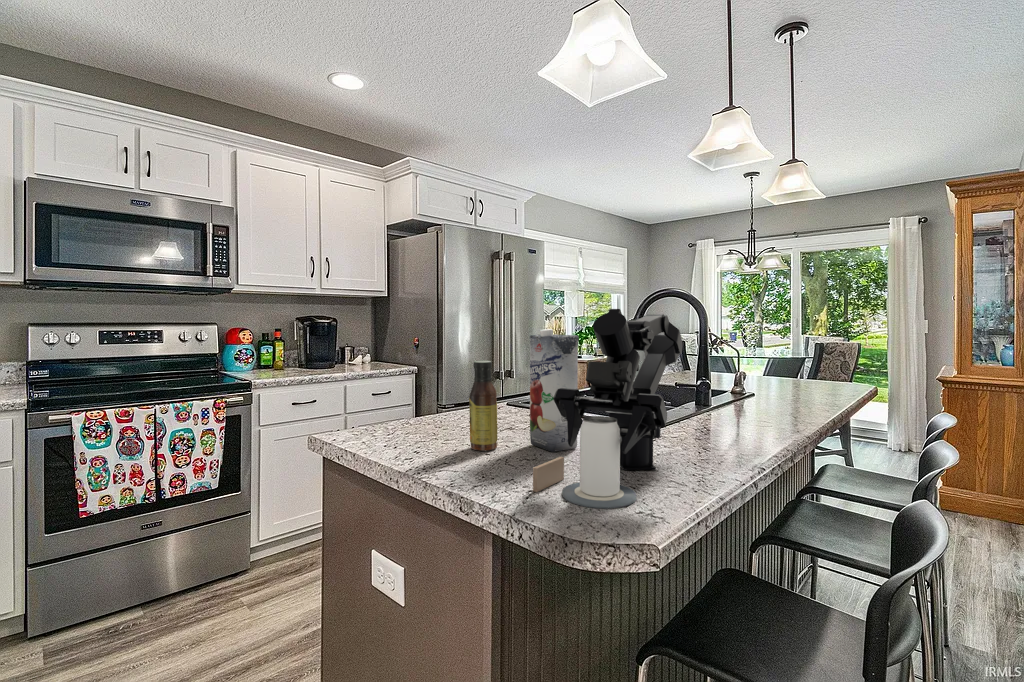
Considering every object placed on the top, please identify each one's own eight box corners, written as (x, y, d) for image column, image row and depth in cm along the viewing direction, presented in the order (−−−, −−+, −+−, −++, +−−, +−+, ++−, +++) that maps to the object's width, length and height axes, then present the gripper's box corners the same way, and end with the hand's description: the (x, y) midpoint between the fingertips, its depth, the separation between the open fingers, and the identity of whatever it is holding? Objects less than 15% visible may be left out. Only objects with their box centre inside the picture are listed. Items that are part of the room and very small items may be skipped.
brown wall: (560, 478, 95) (560, 456, 95) (563, 479, 95) (563, 457, 95) (533, 491, 88) (532, 467, 88) (536, 492, 88) (536, 468, 87)
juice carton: (556, 440, 126) (556, 328, 125) (583, 449, 117) (583, 329, 116) (524, 444, 122) (524, 328, 121) (550, 454, 113) (550, 329, 112)
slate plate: (625, 483, 92) (625, 480, 92) (646, 507, 80) (646, 503, 80) (557, 484, 91) (557, 481, 91) (568, 509, 79) (568, 505, 79)
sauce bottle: (477, 444, 122) (477, 359, 121) (502, 446, 120) (501, 360, 119) (464, 450, 116) (464, 361, 115) (489, 453, 114) (489, 362, 113)
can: (600, 501, 81) (601, 424, 81) (571, 490, 86) (571, 418, 86) (628, 492, 85) (628, 419, 85) (598, 483, 90) (598, 414, 90)
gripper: (557, 342, 93) (528, 414, 84) (663, 345, 84) (643, 425, 75) (575, 382, 100) (549, 452, 91) (674, 388, 91) (657, 466, 82)
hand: (596, 448), depth 84 cm, fingers open, 9 cm apart
